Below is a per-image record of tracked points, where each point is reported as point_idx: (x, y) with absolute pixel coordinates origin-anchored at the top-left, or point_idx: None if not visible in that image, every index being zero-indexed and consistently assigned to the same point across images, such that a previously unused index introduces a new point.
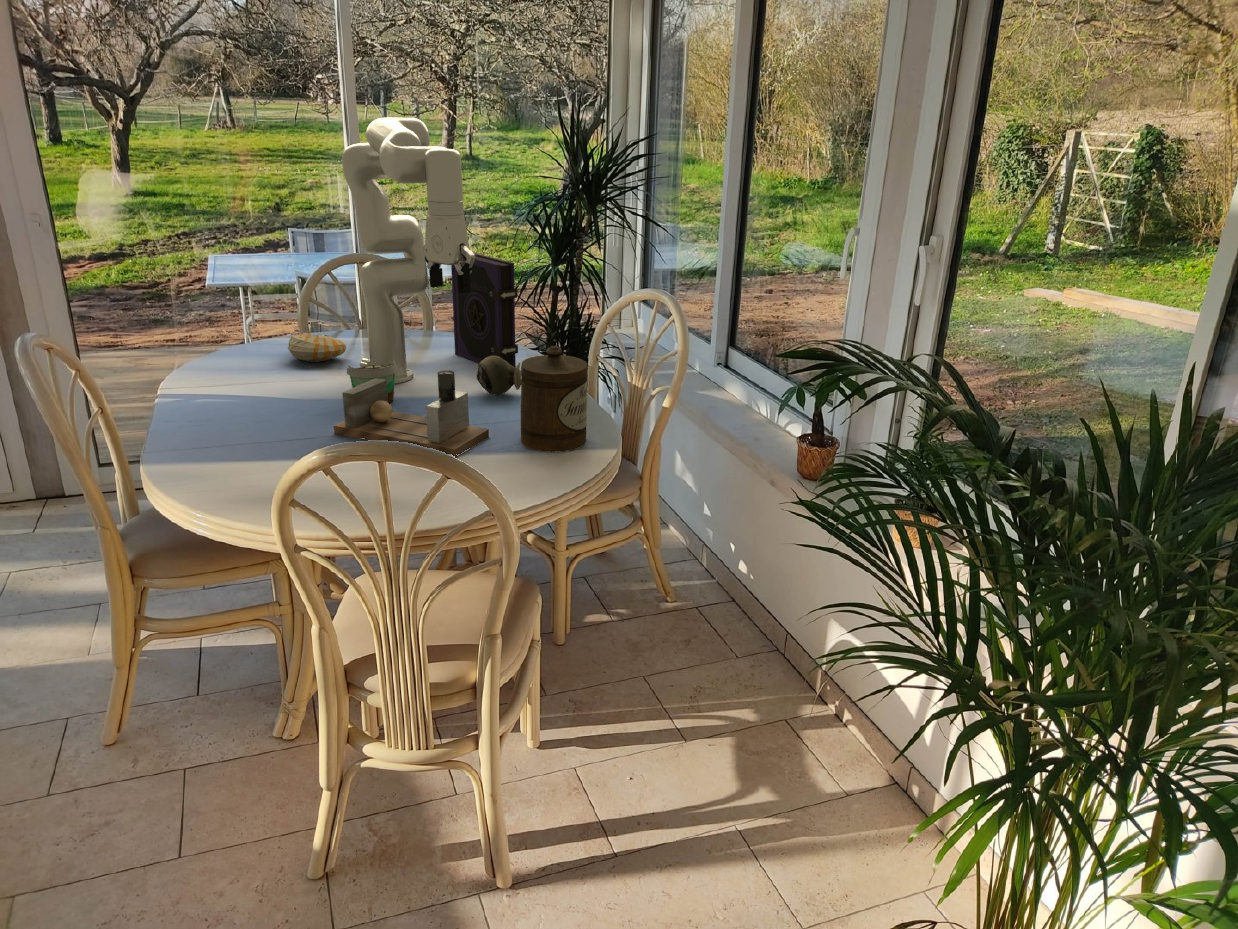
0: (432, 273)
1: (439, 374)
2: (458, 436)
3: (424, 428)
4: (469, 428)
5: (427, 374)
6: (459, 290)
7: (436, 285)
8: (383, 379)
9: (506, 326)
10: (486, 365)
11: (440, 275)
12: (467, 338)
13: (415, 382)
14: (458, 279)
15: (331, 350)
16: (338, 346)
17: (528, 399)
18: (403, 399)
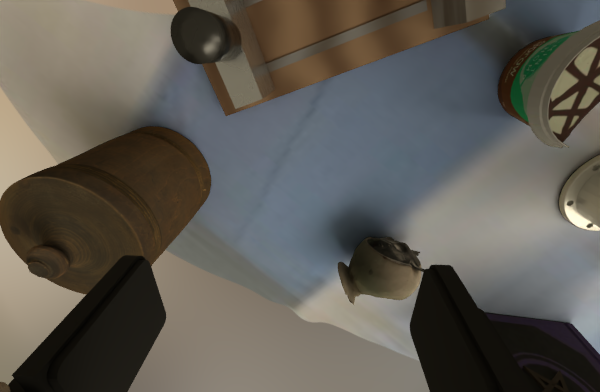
0: (469, 364)
1: (190, 7)
2: None
3: (302, 25)
4: None
5: (548, 241)
6: (116, 267)
7: (420, 295)
8: (477, 18)
9: None
10: (387, 264)
11: (438, 387)
12: (557, 351)
13: (539, 203)
14: (53, 333)
15: None
16: None
17: (101, 152)
18: (493, 130)
